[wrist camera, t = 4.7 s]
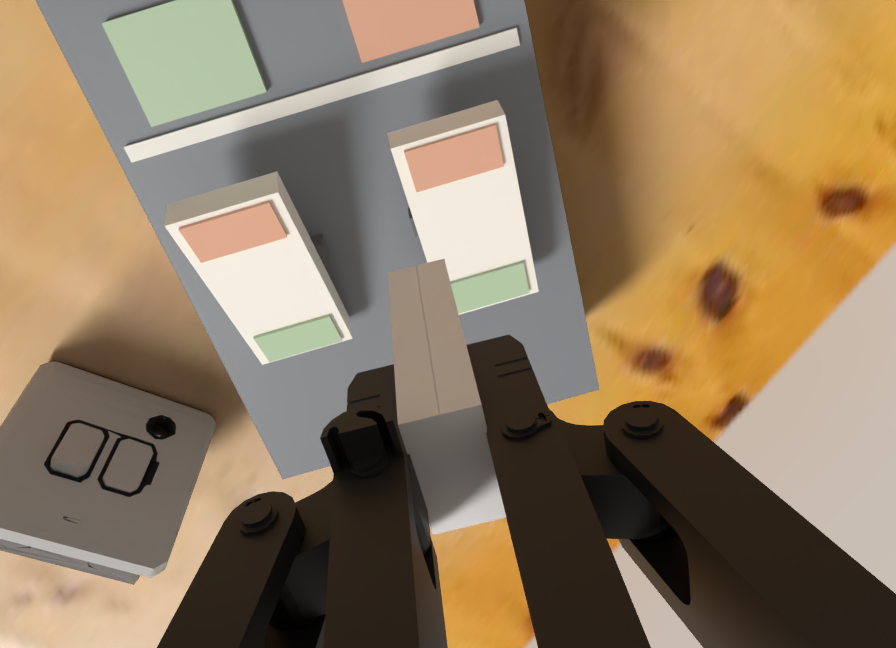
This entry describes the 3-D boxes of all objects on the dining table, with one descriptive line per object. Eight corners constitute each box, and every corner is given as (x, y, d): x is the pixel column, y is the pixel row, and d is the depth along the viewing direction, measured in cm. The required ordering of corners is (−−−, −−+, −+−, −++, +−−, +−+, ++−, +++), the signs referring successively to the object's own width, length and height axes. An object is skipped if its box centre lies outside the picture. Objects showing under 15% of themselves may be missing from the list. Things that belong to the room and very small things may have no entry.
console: (96, -9, 28) (19, 2, 22) (471, -126, 28) (503, -149, 21) (293, 408, 39) (280, 496, 33) (567, 329, 38) (607, 403, 32)
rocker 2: (387, 132, 24) (391, 151, 23) (497, 99, 24) (506, 116, 23) (440, 300, 29) (446, 321, 28) (531, 274, 29) (539, 293, 28)
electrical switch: (222, 414, 39) (177, 549, 31) (193, 473, 41) (144, 613, 33) (47, 352, 36) (-52, 485, 28) (26, 420, 38) (-71, 560, 30)
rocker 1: (167, 204, 24) (164, 228, 23) (276, 171, 24) (278, 195, 23) (262, 343, 30) (262, 367, 29) (349, 317, 30) (353, 341, 29)
